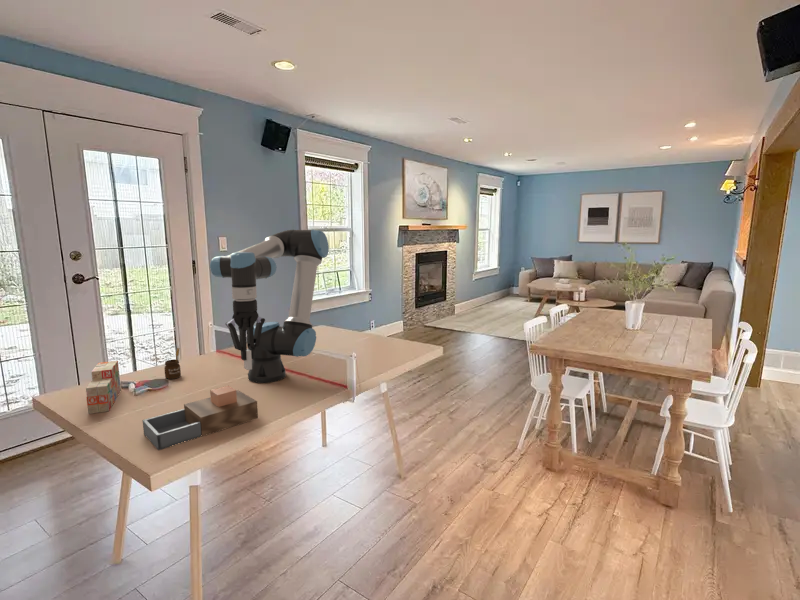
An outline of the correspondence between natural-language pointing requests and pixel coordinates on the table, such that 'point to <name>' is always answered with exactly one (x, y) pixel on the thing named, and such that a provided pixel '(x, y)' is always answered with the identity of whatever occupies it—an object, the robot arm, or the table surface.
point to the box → (170, 429)
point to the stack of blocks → (103, 387)
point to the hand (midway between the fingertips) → (248, 368)
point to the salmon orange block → (223, 396)
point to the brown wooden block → (221, 413)
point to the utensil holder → (172, 367)
